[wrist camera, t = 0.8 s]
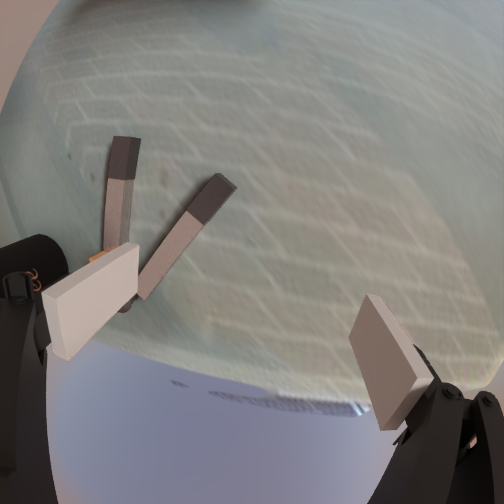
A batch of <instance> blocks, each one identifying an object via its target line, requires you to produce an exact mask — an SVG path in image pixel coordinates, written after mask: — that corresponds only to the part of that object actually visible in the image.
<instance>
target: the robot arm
mask: <svg viewBox="0 0 504 504" xmlns="http://www.w3.org/2000/svg"><path fill="white" fill-rule="evenodd" d="M138 261H139V245H137V244H133V243H129V242H126V243H125V244H123V245H121V246H119V247H117V248H115V249H114V250H112V251H110V252H108V253H106V254H105V255H103V256H101V257H99V258H98V259H96V260H94V261H92V262H91V263H89V264H87V265H85V266H84V267H82V268H80V269H79V270H77V271H75V272H73V273H69V274H66V275H64V276H62V277H60V278H59V279H57V280H55V281H54V282H52V283H51V284H49V285H47V286H46V287H44V288H42V289H41V290H39V291H38V292H36V293H34V288H33V281H32V276H31V275H30V274H29V273H27V272H22V271H19V272H13V273H9V274H7V275H6V276H4V277H3V279H2V281H3V287H4V292H5V297H6V299H3V298H0V504H58V500H57V496H56V491H55V486H54V481H53V476H52V470H51V463H50V455H49V446H48V436H47V420H46V369H47V350H46V346H48V345H49V344H50V343H51V344H52V348H53V352H54V354H55V355H57V356H59V357H61V358H62V359H64V360H66V361H69V360H70V359H71V358H72V357H73V356H74V355H75V354H76V353H77V351H78V350H79V349H80V348H81V347H82V346H83V345H84V344H85V343H86V342H87V341H88V340H89V339H90V338H91V337H92V336H93V335H94V334H95V333H96V332H97V331H98V330H99V329H100V328H101V327H102V326H103V325H104V324H105V323H106V322H107V321H108V320H109V319H110V318H111V317H112V316H113V315H114V314H115V313H116V312H117V311H118V310H119V309H120V308H121V307H122V306H123V305H124V304H125V303H127V302H128V301H129V300H130V299H131V298H132V297H133V296H134V295H135V294H136V293H137V289H138ZM349 340H350V343H351V345H352V348H353V351H354V353H355V356H356V359H357V362H358V364H359V367H360V370H361V373H362V376H363V379H364V381H365V384H366V387H367V390H368V393H369V396H370V399H371V402H372V405H373V408H374V411H375V415H376V418H377V420H378V424H379V427H380V430H381V431H382V430H397V429H398V427H399V426H400V425H401V424H402V422H403V421H404V420H405V421H406V424H407V426H408V427H407V428H406V429H405V430H404V431H403V433H402V434H401V435H400V436H399V437H398V438H397V440H396V441H395V442H394V443H393V445H396V443H397V442H398V445H397V447H396V449H395V452H394V454H393V456H392V458H391V460H390V462H389V464H388V467H387V468H386V470H385V472H384V474H383V476H382V479H381V480H380V482H379V484H378V486H377V488H376V489H375V491H374V493H373V495H372V496H371V498H370V500H369V502H368V503H367V504H504V416H503V413H502V410H501V407H500V404H499V402H498V400H497V399H496V398H495V396H494V395H493V394H492V393H490V392H487V391H480V392H479V393H478V394H477V396H476V397H475V398H474V400H470V399H465V398H464V397H463V394H462V392H461V391H460V390H459V389H458V388H457V387H456V386H454V385H452V384H450V383H442V381H441V380H440V378H439V377H438V375H437V374H436V372H435V370H434V369H433V367H432V366H430V363H429V361H428V360H426V359H427V358H426V357H425V355H424V354H423V352H422V351H421V350H420V349H419V348H418V347H416V346H415V345H414V344H412V343H411V341H410V340H409V338H408V337H407V335H406V334H405V332H404V331H403V329H402V328H401V327H400V325H399V324H398V322H397V321H396V319H395V318H394V316H393V315H392V314H391V312H390V311H389V309H388V308H387V307H386V305H385V304H384V302H383V301H382V300H381V298H380V297H379V296H377V295H372V294H367V293H366V295H365V297H364V300H363V303H362V305H361V308H360V311H359V313H358V316H357V318H356V321H355V323H354V326H353V328H352V331H351V333H350V335H349ZM475 437H476V438H477V443H476V444H475V445H474V446H473V447H472V448H470V443H471V442H472V440H474V438H475Z"/></svg>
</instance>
